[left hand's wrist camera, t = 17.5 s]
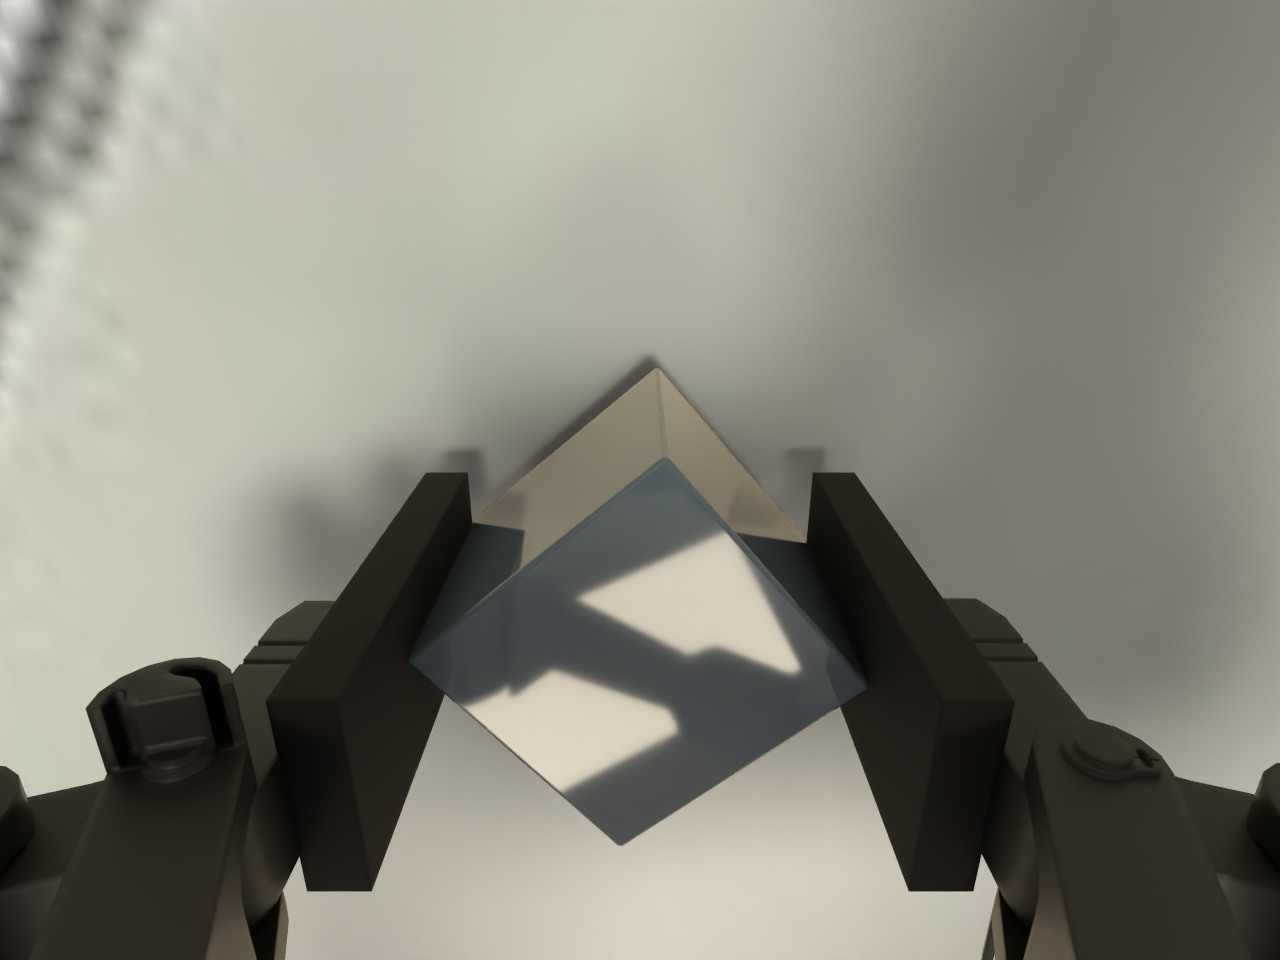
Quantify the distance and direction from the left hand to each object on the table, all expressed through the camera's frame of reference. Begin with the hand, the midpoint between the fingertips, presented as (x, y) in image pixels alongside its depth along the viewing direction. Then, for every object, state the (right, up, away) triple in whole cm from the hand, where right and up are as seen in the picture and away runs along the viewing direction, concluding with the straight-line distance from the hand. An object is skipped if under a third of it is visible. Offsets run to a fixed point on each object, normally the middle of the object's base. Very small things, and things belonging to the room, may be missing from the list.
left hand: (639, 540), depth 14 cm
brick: (0, 0, 0) cm, 0 cm away
